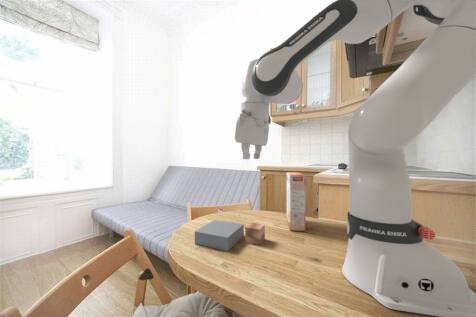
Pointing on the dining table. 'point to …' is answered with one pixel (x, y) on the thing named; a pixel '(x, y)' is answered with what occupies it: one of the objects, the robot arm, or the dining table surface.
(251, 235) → the cube
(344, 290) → the dining table surface
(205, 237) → the base
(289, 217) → the cracker box
